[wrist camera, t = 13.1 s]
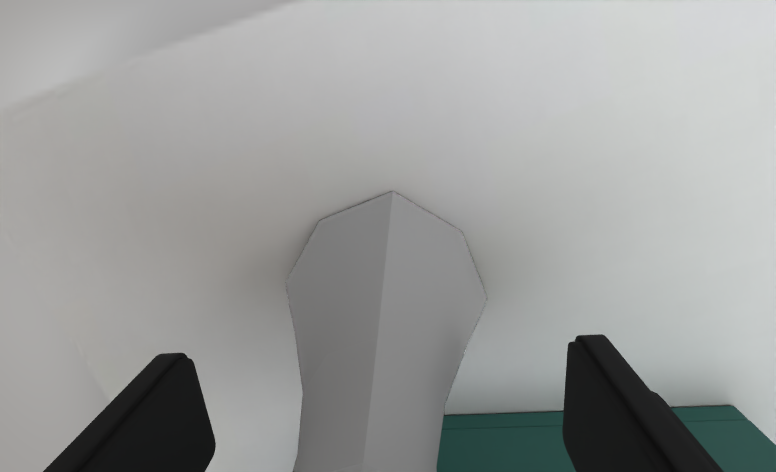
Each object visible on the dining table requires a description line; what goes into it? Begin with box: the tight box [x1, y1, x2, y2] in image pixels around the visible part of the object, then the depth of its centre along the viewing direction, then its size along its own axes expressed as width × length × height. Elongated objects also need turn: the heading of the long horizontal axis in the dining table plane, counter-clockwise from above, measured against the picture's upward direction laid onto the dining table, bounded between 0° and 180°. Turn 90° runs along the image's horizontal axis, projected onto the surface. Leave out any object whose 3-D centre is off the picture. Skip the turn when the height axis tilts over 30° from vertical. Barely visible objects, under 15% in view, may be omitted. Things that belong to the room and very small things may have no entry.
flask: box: [285, 191, 487, 472], centre depth 11 cm, size 7×7×10 cm
